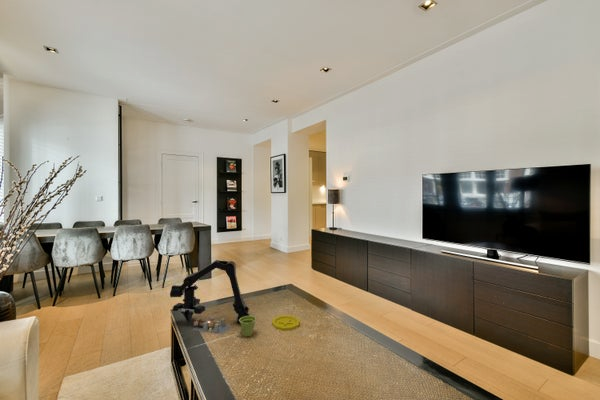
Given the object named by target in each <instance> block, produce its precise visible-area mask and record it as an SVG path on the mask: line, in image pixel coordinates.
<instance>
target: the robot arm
mask: <svg viewBox="0 0 600 400" xmlns="http://www.w3.org/2000/svg"><path fill="white" fill-rule="evenodd" d="M236 266H237V265H236V262H235V261H233V260H229V261H228V260H227V261H226V260H219V259H215V260H214V261H213V262H211V263H210V264H208V265H206V266H205V267H203V268H202V269H200V270H198V271H195V272H192V273H191V274H188V275H187V276H186V277H185V278H184V279H183V281H182V282H183V283H182V284H181V285H175V284H173V285H171V289H170V293H169V296H170V298H182V297H183V299H182V302H183V303H182V302H178V303H176V304H175V305H173V307H172V311H173V312H178V311H179V310H181V311H180V312H181V313H180V314H182V316H183V317H184V319H185V321H186V322H187V323H191V320H192V317H193V316H194V314H196V315H201V314H202V313H204V312H205V311H206V306H205V305H201V304H200V302H201V298H196V296H195V291H197V290H198V288H199V286H197V285H196V284H195V283H196V282H198V281H199V279H200V278H202V277H204V276H206V275H207V274H209V273H210V272H212V271H214V270H215V269H219V270H220V271H225V274H227V275H226V276H227V277H228V279H229V282H230V285H231V289H232V294H233V298H234V301H233V303H232V307H233V311H234V312H235V313H236V315H237V317H236V323H237V324H238V325H240V326H241V324H240V321H239V320H240V318H242V317H244V316H250V313H249V311H250V308H249V307H248V306H247V305H246V302H245V299H244V298H243V296H242V294H241V290H240V287H239V283H238V282H239V281H238V278H237V267H236Z"/></svg>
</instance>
